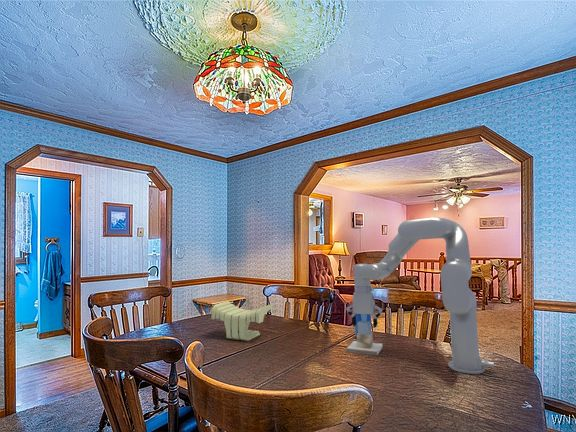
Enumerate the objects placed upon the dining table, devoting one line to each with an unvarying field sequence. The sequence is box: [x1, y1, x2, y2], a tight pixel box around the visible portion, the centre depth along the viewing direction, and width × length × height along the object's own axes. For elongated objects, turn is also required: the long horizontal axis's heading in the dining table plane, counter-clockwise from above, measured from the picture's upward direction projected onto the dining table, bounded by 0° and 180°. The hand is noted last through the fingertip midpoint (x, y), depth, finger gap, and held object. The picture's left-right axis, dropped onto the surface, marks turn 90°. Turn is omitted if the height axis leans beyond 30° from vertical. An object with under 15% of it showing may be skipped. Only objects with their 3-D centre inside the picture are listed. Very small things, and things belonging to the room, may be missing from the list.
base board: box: [345, 340, 384, 357], centre depth 156 cm, size 14×14×2 cm
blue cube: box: [357, 321, 372, 335], centre depth 157 cm, size 5×5×5 cm
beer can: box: [354, 314, 372, 339], centre depth 175 cm, size 8×8×16 cm
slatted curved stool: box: [211, 300, 274, 342], centre depth 183 cm, size 30×16×18 cm, turn 66°
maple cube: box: [356, 331, 374, 349], centre depth 156 cm, size 6×6×6 cm
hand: (364, 326), depth 157 cm, fingers open, 9 cm apart
